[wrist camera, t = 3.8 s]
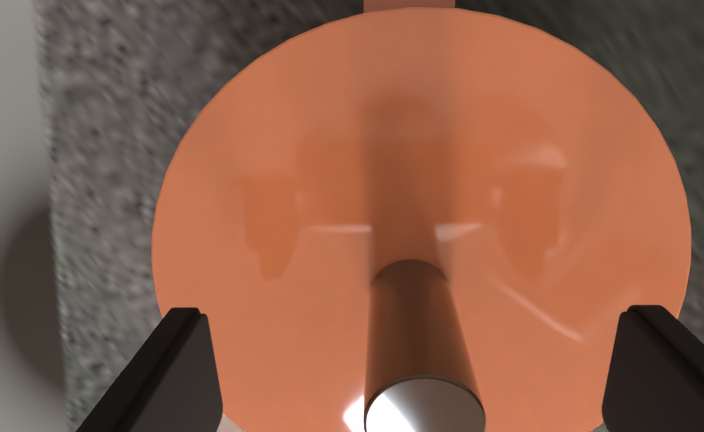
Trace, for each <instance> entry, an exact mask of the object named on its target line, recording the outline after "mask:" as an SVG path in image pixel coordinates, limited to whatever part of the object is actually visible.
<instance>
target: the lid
mask: <svg viewBox="0 0 704 432" xmlns="http://www.w3.org/2000/svg"><path fill="white" fill-rule="evenodd" d="M690 265H691V224H690V217H689V210H688V204H687V197H686V193H685V190H684V187H683V183H682V180H681V177H680V174H679V171H678V168H677V165H676V162H675V159H674V157H673V155H672V153H671V151H670V150H669V148H668V146H667V144H666V142H665V140H664V138H663V136H662V134H661V132H660V130H659V128H658V127H657V125H656V124H655V123H654V121H653V120H652V118H651V117H650V116H649V114H648V113H647V112H646V110H645V109H644V108H643V106H642V105H641V104H640V102H639V101H638V100H637V98H636V97H635V96H634V95H633V94H632V93H631V92H630V91H629V90H628V89H627V88H626V87H625V86H624V85H623V84H622V83H621V82H620V81H619V80H618V79H617V78H616V77H615V76H614V75H613V74H612V73H610V72H609V71H608V70H607V69H606V68H604V67H603V66H602V65H600V64H599V63H597V62H596V61H595V60H593V59H592V58H590V57H589V56H588V55H586V54H585V53H583V52H582V51H580V50H579V49H578V48H576V47H575V46H573V45H571V44H569V43H567V42H565V41H563V40H561V39H559V38H557V37H555V36H553V35H551V34H549V33H547V32H545V31H543V30H541V29H539V28H536V27H533V26H530V25H527V24H524V23H521V22H518V21H515V20H512V19H509V18H506V17H503V16H500V15H496V14H490V13H484V12H478V11H472V10H467V9H461V8H454V7H415V6H411V7H402V8H394V9H385V10H377V11H369V12H365V13H361V14H357V15H354V16H350V17H346V18H342V19H338V20H335V21H331V22H327V23H325V24H323V25H320V26H318V27H316V28H313V29H311V30H308V31H306V32H304V33H301V34H299V35H297V36H294V37H292V38H290V39H288V40H286V41H285V42H283V43H281V44H280V45H278V46H276V47H275V48H273V49H271V50H270V51H268V52H266V53H265V54H263V55H261V56H260V57H258V58H256V59H255V60H254V61H253V62H251V63H250V64H249V65H248V66H246V67H245V68H244V69H243V70H242V71H240V72H239V73H238V74H237V75H235V76H234V77H233V78H232V79H230V80H229V81H228V82H227V83H226V84H225V85H224V86H223V87H222V88H221V89H220V90H219V91H218V92H217V94H216V95H215V96H214V97H213V98H212V99H211V100H210V101H209V102H208V103H207V104H206V106H205V107H204V108H203V109H202V110H201V111H200V113H199V114H198V116H197V117H196V119H195V120H194V122H193V123H192V124H191V126H190V127H189V129H188V130H187V132H186V133H185V135H184V136H183V138H182V139H181V141H180V143H179V145H178V147H177V149H176V151H175V154H174V156H173V158H172V160H171V162H170V164H169V166H168V168H167V170H166V173H165V176H164V180H163V183H162V186H161V189H160V193H159V196H158V199H157V203H156V209H155V216H154V222H153V229H152V272H153V279H154V287H155V294H156V298H157V302H158V305H159V309H160V312H161V316H162V319H163V318H164V317H165V315H166V314H167V313H168V311H169V310H170V309H171V308H174V307H197V308H198V309H199V310H200V313H201V314H203V313H205V314H206V315H207V317H208V321H209V327H210V333H211V338H212V344H213V350H214V356H215V361H216V367H217V373H218V379H219V384H220V390H221V396H222V401H223V413H224V414H225V415H226V416H227V417H228V418H229V419H230V420H232V421H233V422H234V423H235V424H237V425H238V426H239V427H240V428H241V429H243V430H244V431H245V432H591V431H592V430H593V429H595V428H596V427H598V426H599V425H600V424H602V423H603V422H604V421H603V417H602V402H603V397H604V392H605V387H606V382H607V377H608V371H609V366H610V361H611V356H612V351H613V346H614V341H615V336H616V331H617V325H618V320H619V316H620V314H621V313H622V312H627V309H628V308H629V307H630V306H631V305H661V306H663V307H664V308H666V309H667V310H668V311H669V312H670V313H671V314H672V315H673V316H674V317H675V318H676V319H678V316H679V313H680V310H681V307H682V304H683V301H684V298H685V295H686V289H687V283H688V277H689V271H690Z"/></svg>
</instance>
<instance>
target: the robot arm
mask: <svg viewBox="0 0 704 432" xmlns="http://www.w3.org/2000/svg"><path fill="white" fill-rule="evenodd" d="M222 414H223V401H222V396H221V390H220V384H219V379H218V373H217V367H216V361H215V356H214V350H213V344H212V338H211V333H210V327H209V321H208V317H207V315H206V314H205V313H203V314H201V313H200V310H199V309H198V308H197V307H174V308H171V309H170V310H169V311H168V313H167V314H166V315H165V317H164V318H163V319H162V320H161V322H160V323H159V324H158V326H157V327H156V328H155V330H154V331H153V332H152V334H151V335H150V336H149V337H148V339H147V340H146V341H145V343H144V344H143V345H142V347H141V348H140V349H139V351H138V352H137V353H136V354H135V356H134V357H133V358H132V360H131V361H130V362H129V364H128V365H127V366H126V368H125V369H124V370H123V371H122V372H121V373H120V375H119V376H118V377H117V379H116V380H115V381H114V383H113V384H112V385H111V387H110V388H109V389H108V390H107V392H106V393H105V394H104V396H103V397H102V398H101V400H100V401H99V402H98V404H97V405H96V406H95V407H94V409H93V410H92V411H91V413H90V414H89V415H88V417H87V418H86V419H85V421H84V422H83V423H82V424H81V426H80V427H79V428H78V430H77V431H76V432H217V429H218V427H219V424H220V422H221V419H222ZM602 417H603V421H604V423H605V425H606V427H607V429H608V430H609V432H704V344H703V343H702V342H701V341H700V340H699V339H697V338H696V337H695V336H694V335H693V334H692V333H691V332H690V331H689V330H688V329H687V328H686V327H685V326H684V325H683V324H682V323H680V322H679V321H678V320H677V319H676V318H675V317H674V316H673V315H672V314H671V313H670V312H669V311H668V310H667V309H666V308H664V307H663V306H661V305H631V306H630V307H629V308H628V309H627V312H622V313H621V314H620V316H619V320H618V325H617V331H616V336H615V341H614V346H613V351H612V356H611V361H610V366H609V371H608V377H607V382H606V387H605V392H604V397H603V402H602Z"/></svg>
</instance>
